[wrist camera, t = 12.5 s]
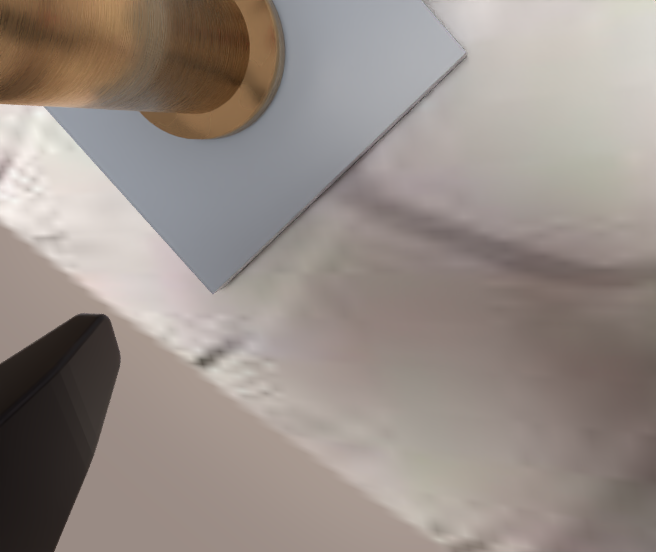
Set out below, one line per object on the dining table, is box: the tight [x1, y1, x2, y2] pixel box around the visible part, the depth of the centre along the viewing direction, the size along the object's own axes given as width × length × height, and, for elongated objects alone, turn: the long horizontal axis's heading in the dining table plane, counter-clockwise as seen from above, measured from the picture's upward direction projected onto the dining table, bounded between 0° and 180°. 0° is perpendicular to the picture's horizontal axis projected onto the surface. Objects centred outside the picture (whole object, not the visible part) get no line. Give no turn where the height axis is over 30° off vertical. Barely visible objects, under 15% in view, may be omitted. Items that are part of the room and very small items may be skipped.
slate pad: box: [44, 0, 467, 294], centre depth 19 cm, size 12×12×1 cm
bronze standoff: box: [0, 0, 285, 139], centre depth 12 cm, size 6×6×13 cm
